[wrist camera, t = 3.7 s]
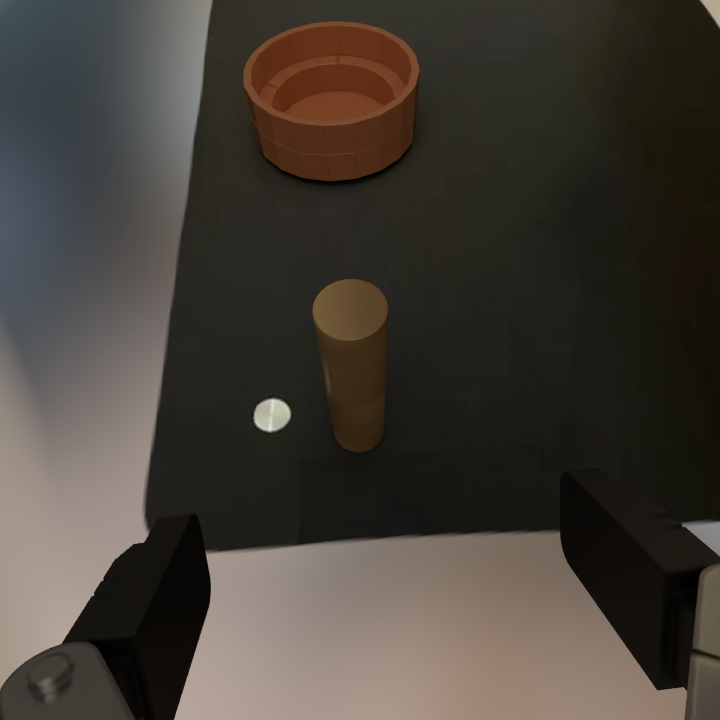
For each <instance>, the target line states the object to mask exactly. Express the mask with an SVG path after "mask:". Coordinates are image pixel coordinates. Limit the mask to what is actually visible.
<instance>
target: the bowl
mask: <svg viewBox="0 0 720 720" xmlns="http://www.w3.org/2000/svg"><path fill="white" fill-rule="evenodd" d="M419 74H420V69H419V65H418V62H417V58H416V55H415V53H414V52H413V50H412V49H411V48H410V47H409V46H408V45H407V44H406V43H405V42H404V40H402V39H400V38H398V37H397V36H395V35H393V34H391V33H389V32H388V31H386V30H384V29H380V28H377V27H373V26H370V25H366V24H362V23H351V22H339V21H338V22H337V21H334V22H322V23H312V24H308V25H304V26H301V27H297V28H293V29H289V30H287V31H285V32H283V33H281V34H279V35H277V36H275V37H273V38H271V39H269V40H268V41H266V42H265V43H264V44H262V45H261V46H260V47H259V48H258V49H257V50H256V51H254V52H253V53H252V54H251V56H250V58H249V60H248V62H247V64H246V66H245V68H244V89H245V93H246V98H247V102H248V107H249V111H250V115H251V120H252V124H253V129H254V133H255V138H256V142H257V144H258V146H259V147H260V149H261V151H262V153H263V155H264V156H265V157H266V158H267V159H268V160H269V161H271V162H272V163H273V164H274V165H276V166H277V167H278V168H279V169H281V170H283V171H286V172H288V173H291V174H293V175H296V176H299V177H301V178H306V179H314V180H322V181H339V180H349V179H356V178H360V177H363V176H366V175H369V174H372V173H375V172H378V171H380V170H383V169H384V168H386V167H387V166H389V165H390V164H392V163H393V162H395V161H396V160H398V159H399V158H400V157H401V156H402V155H403V153H404V152H405V151H406V150H407V148H408V147H409V146H410V144H411V143H412V140H413V136H414V132H415V128H416V116H417V102H418V101H417V100H418V88H419Z"/></svg>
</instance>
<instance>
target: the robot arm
mask: <svg viewBox="0 0 720 720" xmlns="http://www.w3.org/2000/svg"><path fill="white" fill-rule="evenodd" d="M560 537H561V544H562V549H563V552H564V555H565V558H566V560H567V562H568V564H569V566H570V567H571V568H572V570H573V571H574V573H575V574H576V576H577V577H578V578H579V580H580V581H581V582H582V584H583V586H584V587H585V588H586V590H587V591H588V592H589V594H590V595H591V597H592V598H593V600H594V601H595V603H596V604H597V605H598V607H599V608H600V610H601V611H602V613H603V614H604V615H605V617H606V618H607V620H608V621H609V622H610V624H611V625H612V627H613V628H614V630H615V631H616V632H617V634H618V635H619V637H620V638H621V640H622V641H623V642H624V643H625V645H626V647H627V648H628V649H629V651H630V652H631V654H632V655H633V657H634V658H635V659H636V661H637V662H638V663H639V665H640V666H641V668H642V669H643V671H644V672H645V673H646V675H647V676H648V678H649V679H650V681H651V682H652V684H653V685H654V686H655V688H656V689H657V690H664V689H672V688H680V687H684V688H685V689H686V690H687V700H686V710H685V720H720V556H718V555H717V554H716V553H715V552H714V551H713V550H711V549H710V548H709V547H708V546H707V545H706V544H704V543H703V542H702V541H701V540H700V539H699V538H697V537H696V536H695V535H694V534H693V533H691V532H690V531H689V530H688V529H687V528H686V527H682V524H681V523H680V522H679V521H677V520H676V519H675V518H674V517H673V516H672V515H668V512H667V511H666V510H664V509H663V508H662V507H661V506H660V505H659V504H657V503H656V502H655V501H654V500H653V499H652V498H649V497H647V496H645V495H643V494H641V493H639V492H636V491H634V490H632V489H630V488H621V487H620V486H619V485H618V484H617V483H616V482H615V481H614V480H612V479H611V478H610V477H609V476H608V475H607V474H606V473H605V472H604V471H602V470H601V469H599V468H595V469H586V470H577V471H568V472H564V473H563V474H562V476H561V481H560ZM210 594H211V583H210V574H209V569H208V563H207V558H206V553H205V548H204V542H203V537H202V532H201V527H200V522H199V519H198V517H197V515H196V514H185V515H177V516H168V517H160V518H159V519H158V520H157V521H156V523H155V525H154V526H153V528H152V530H151V532H150V533H149V535H148V537H147V539H146V541H145V542H144V543H138V544H133V545H132V546H131V547H130V548H129V549H127V550H126V551H125V552H124V553H123V554H121V555H120V556H119V557H118V558H117V559H115V561H114V562H113V563H112V565H111V567H110V568H109V570H108V571H107V573H106V575H105V576H104V580H103V581H101V582H100V584H99V586H98V587H97V589H96V590H95V592H94V596H92V597H91V598H90V600H89V601H88V603H87V605H86V606H85V608H84V609H83V611H82V612H81V614H80V616H79V617H78V619H77V620H76V622H75V623H74V625H73V627H72V628H71V630H70V631H69V633H68V635H67V636H66V638H65V639H64V641H63V642H62V644H61V645H58V646H55V647H52V648H49V649H47V650H45V651H43V652H41V653H39V654H38V655H36V656H34V657H32V658H31V659H29V660H28V661H26V662H25V663H24V664H22V665H21V666H20V667H19V668H17V669H16V670H15V671H14V672H13V673H12V674H11V676H10V677H9V678H8V679H7V680H6V682H5V683H4V684H3V686H2V688H1V690H0V720H174V718H175V714H176V711H177V708H178V705H179V701H180V698H181V695H182V692H183V689H184V685H185V682H186V679H187V676H188V673H189V669H190V666H191V663H192V660H193V656H194V653H195V650H196V646H197V644H198V640H199V637H200V634H201V631H202V627H203V624H204V621H205V618H206V615H207V611H208V608H209V604H210Z"/></svg>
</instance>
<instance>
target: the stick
mask: <svg viewBox="0 0 720 720" xmlns="http://www.w3.org/2000/svg"><path fill="white" fill-rule="evenodd" d="M313 319H314V325H315V331H316V336H317V342H318V348H319V353H320V359H321V365H322V370H323V376H324V381H325V387H326V393H327V398H328V404H329V410H330V415H331V421H332V427H333V432H334V436H335V439H336V441H337V442H338V443H339V445H340V446H342V447H343V448H344V449H346V450H348V451H351V452H366V451H369V450H371V449H373V448H374V447H375V446H377V445H378V444H379V442H380V441H381V439H382V437H383V435H384V425H385V394H386V363H387V332H388V304H387V301H386V298H385V296H384V295H383V293H382V292H381V291H380V290H379V289H378V288H377V287H375V286H374V285H372V284H370V283H368V282H366V281H362V280H357V279H346V280H340V281H337V282H334V283H332V284H330V285H328V286H327V287H325V288H324V289H323V290H322V291H321V292H320V293H319V294H318V296H317V297H316V299H315V301H314V304H313Z"/></svg>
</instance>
